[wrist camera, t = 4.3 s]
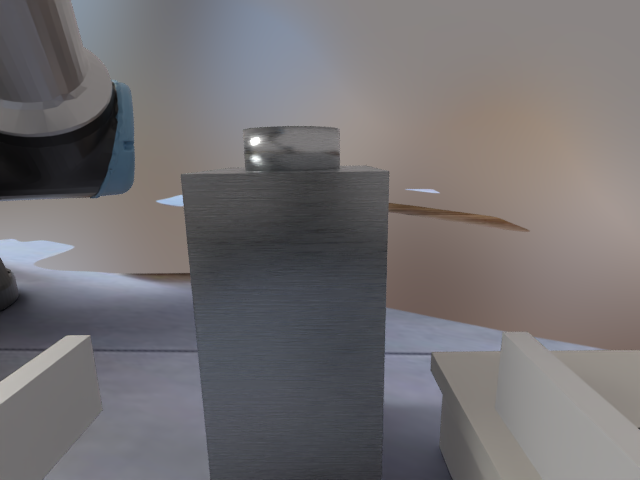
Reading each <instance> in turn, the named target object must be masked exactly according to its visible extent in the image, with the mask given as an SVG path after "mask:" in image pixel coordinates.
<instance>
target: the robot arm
mask: <svg viewBox="0 0 640 480" xmlns="http://www.w3.org/2000/svg"><path fill="white" fill-rule="evenodd" d="M133 144H134V119H133V106H132V96H131V90H130V88H129V87H128V86H127V85H126V84H125V83H121V82H118V81H116V80H111V78H110V76H109V73H108V71H107V69H106V67H105V65H104V64H103V63H102V61H101V60H100V59H99V58H98V57H97V56H96V55H94V54H93V53H92V52H90V51H89V50H87V49H86V48H84V47H83V44H82V41H81V37H80V33H79V29H78V26H77V22H76V18H75V15H74V11H73V7H72V3H71V0H0V201H10V200H31V199H58V198H59V199H61V198H86V197H90V198H98V197H100V196H106V195H117V194H123V193H125V192H127V191H128V190H129V189H130V188H131V186H132V185H133V181H134V169H135V168H134V167H135V162H134V161H135V155H134V145H133ZM18 296H19V293H18V288H17V284H16V279H15V276H14V274H13V273H12V272H11V270H9V269H7V268H5V266H4V264H3V262H2V260H1V258H0V311H1V310H3V309H4V308H6V307H8V306H9V305H11V304H12V303H13V302H15V301H16V300H17V298H18ZM495 409H496V411H497V412H498V414H499V415H500V417H501V418H502V420H503V421H504V423H505V424H506V426H507V427H508V429H509V430H510V432H511V433H512V435H513V436H514V438H515V439H516V441H517V442H518V444H519V445H520V446H521V448H522V449H523V451H524V452H525V454H526V455H527V457H528V458H529V460H530V461H531V463H532V464H533V466H534V467H535V469H536V470H537V472H538V473H539V475H540V476H541V478H542V479H543V480H640V428H637V427H636V426H635V425H634V424H633V423H631V422H630V421H629V420H628V419H627V418H626V417H625V416H623V415H622V414H621V413H620V412H619V411H618V410H616V409H615V408H614V407H613V406H612V405H611V404H610V403H608V402H607V401H606V400H605V399H604V398H603V397H602V396H600V395H599V394H598V393H597V392H596V391H595V390H594V389H592V388H591V387H590V386H589V385H588V384H587V383H585V382H584V381H583V380H582V379H581V378H580V377H579V376H577V375H576V374H575V373H574V372H573V371H572V370H571V369H569V368H568V367H567V366H566V365H565V364H564V363H563V362H561V361H560V360H559V359H558V358H557V357H556V356H554V355H553V354H552V353H551V352H550V351H549V350H548V349H546V348H545V347H544V346H543V345H542V344H541V343H540V342H538V341H537V340H536V339H535V338H534V337H533V336H532V335H530V334H529V333H528V332H503V334H502V344H501V353H500V363H499V373H498V382H497V392H496V402H495ZM102 411H103V408H102V402H101V396H100V390H99V384H98V378H97V372H96V366H95V360H94V354H93V348H92V342H91V336H90V335H67V336H65V337H64V338H62V339H61V340H59V341H58V342H57V343H55V344H54V345H52V346H51V347H49V348H48V349H47V350H45V351H44V352H42V353H41V354H39V355H38V356H37V357H35V358H34V359H32V360H31V361H29V362H28V363H27V364H25V365H24V366H22V367H21V368H19V369H18V370H17V371H15V372H14V373H12V374H11V375H9V376H8V377H6V378H5V379H4V380H2V381H1V382H0V480H43V479H44V477H45V476H46V475H47V474H48V473H49V472H50V470H51V469H52V468H53V467H54V466H55V465H56V464H57V462H58V461H59V460H60V459H61V458H62V457H63V456H64V454H65V453H66V452H67V451H68V450H69V449H70V447H71V446H72V445H73V444H74V443H75V442H76V441H77V439H78V438H79V437H80V436H81V435H82V434H83V433H84V431H85V430H86V429H87V428H88V427H89V426H90V424H91V423H92V422H93V421H94V420H95V419H96V418H97V416H98V415H99V414H100V413H101V412H102Z"/></svg>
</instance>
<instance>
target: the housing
mask: <svg viewBox="0 0 640 480" xmlns="http://www.w3.org/2000/svg"><path fill="white" fill-rule="evenodd" d="M339 130H340V129H338V128H332V127H314V126H290V127H289V126H287V127H286V126H285V127H284V126H283V127H260V128H249V129H244V130H243V139H244V156H245V168H225V169H218V170H210V171H202V172H196V173H187V174H181V182H182V193H183V203H184V214H185V224H186V234H187V244H188V254H189V264H190V275H191V285H192V296H193V306H194V316H195V326H196V337H197V347H198V357H199V367H200V378H201V388H202V398H203V409H204V419H205V429H206V439H207V450H208V460H209V470H210V480H381V476H382V436H383V397H384V357H385V318H386V278H387V238H388V198H389V171H387V170H382V169H378V168H374V167H369V166H340V131H339Z"/></svg>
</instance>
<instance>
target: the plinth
mask: <svg viewBox="0 0 640 480" xmlns="http://www.w3.org/2000/svg"><path fill="white" fill-rule="evenodd" d="M550 352H551V353H552V354H553V355H554V356H556V357H557V358H558V359H559V360H560V361H561V362H563V363H564V364H565V365H566V366H567V367H568V368H569V369H571V370H572V371H573V372H574V373H575V374H576V375H577V376H579V377H580V378H581V379H582V380H583V381H584V382H585V383H587V384H588V385H589V386H590V387H591V388H592V389H594V390H595V391H596V392H597V393H598V394H599V395H600V396H602V397H603V398H604V399H605V400H606V401H607V402H608V403H610V404H611V405H612V406H613V407H614V408H615V409H616V410H618V411H619V412H620V413H621V414H622V415H623V416H625V417H626V418H627V419H628V420H629V421H630V422H631V423H633V424H634V425H635V426H636V427H637V428H640V350H594V351H550ZM500 353H501V351H486V352H432V354H431V372H432V374H433V376H434V378H435V380H436V382H437V384H438V386H439V388H440V390H441V392H442V394H443V396H442V411H441V427H440V442H439V447H440V450H441V452H442V455H443V457H444V460H445V462H446V465H447V467H448V470H449V472H450V475H451V477H452V480H543V479H542V478H541V476H540V475H539V473H538V472H537V470H536V469H535V467H534V466H533V464H532V463H531V461H530V460H529V458H528V457H527V455H526V454H525V452H524V451H523V449H522V448H521V446H520V445H519V444H518V442H517V441H516V439H515V438H514V436H513V435H512V433H511V432H510V430H509V429H508V427H507V426H506V424H505V423H504V421H503V420H502V418H501V417H500V415H499V414H498V412H497V411H496V409H495V402H496V392H497V382H498V373H499V363H500Z"/></svg>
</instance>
